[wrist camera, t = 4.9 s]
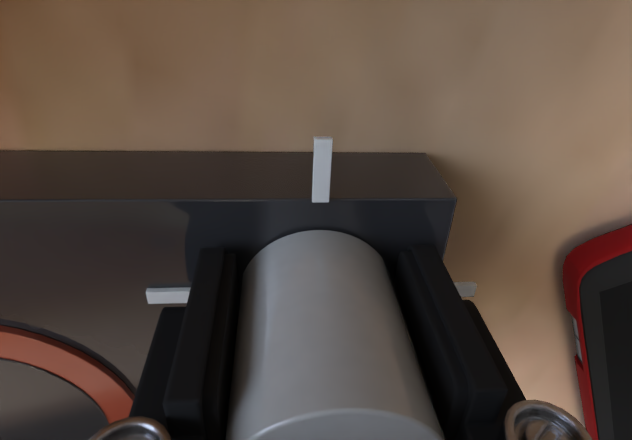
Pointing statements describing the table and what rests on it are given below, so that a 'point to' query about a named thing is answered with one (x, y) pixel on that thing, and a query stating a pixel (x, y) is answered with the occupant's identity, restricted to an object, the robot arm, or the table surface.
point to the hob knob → (324, 348)
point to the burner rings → (55, 390)
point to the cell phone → (603, 330)
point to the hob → (185, 229)
